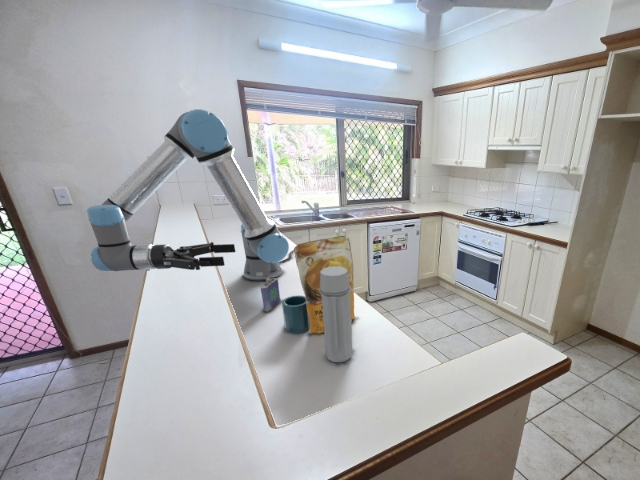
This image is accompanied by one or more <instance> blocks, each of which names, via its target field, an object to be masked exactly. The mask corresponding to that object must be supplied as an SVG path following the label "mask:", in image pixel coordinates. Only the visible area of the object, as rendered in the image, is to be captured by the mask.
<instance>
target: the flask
mask: <svg viewBox="0 0 640 480" xmlns="http://www.w3.org/2000/svg"><path fill="white" fill-rule="evenodd" d="M265 279H266V278H265ZM260 293H261V299H262V306H263V311H264V312H265V313H269V312H271V311H272V310H273V309H274V308H276V306H277V305H278V304H280V303H281V294H280V287H279V279H278V277H276V278H273V279H270V278H267V279H266V280H265V282H264V283H263V284H262V285H261V287H260Z"/></svg>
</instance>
